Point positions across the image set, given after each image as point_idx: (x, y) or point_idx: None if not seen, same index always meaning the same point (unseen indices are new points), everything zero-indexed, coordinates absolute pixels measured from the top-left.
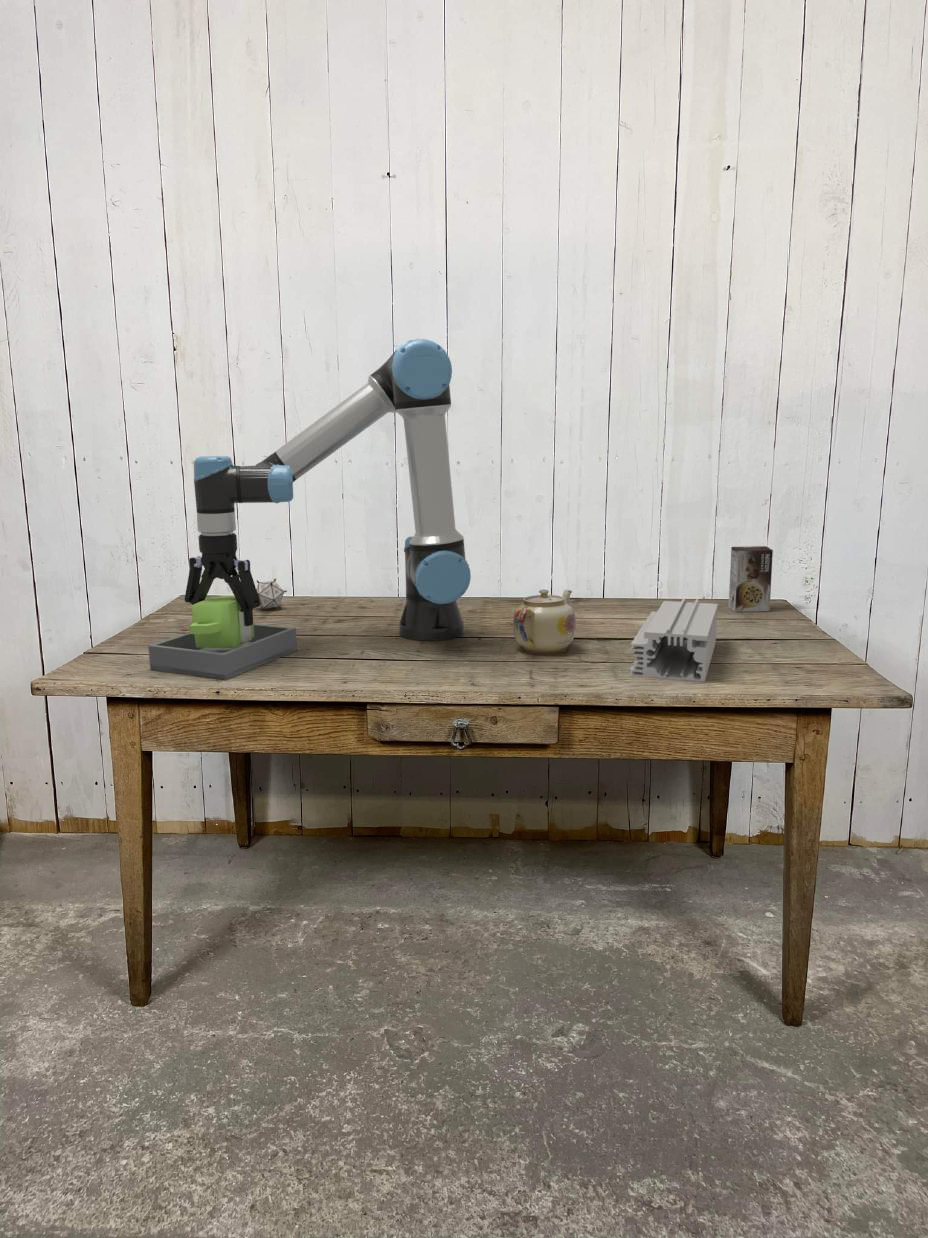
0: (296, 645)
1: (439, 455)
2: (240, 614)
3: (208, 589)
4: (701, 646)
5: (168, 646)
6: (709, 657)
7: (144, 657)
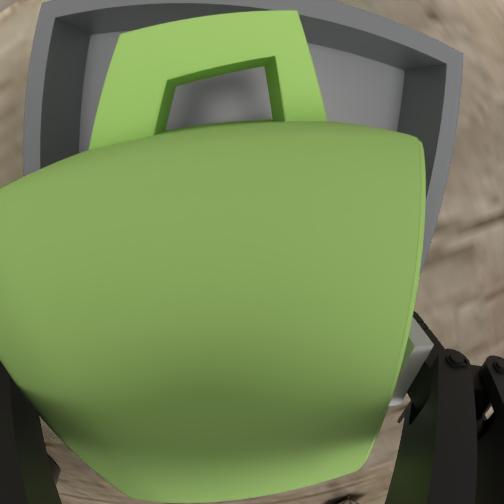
0: None
1: None
2: None
3: (391, 494)
4: None
5: (425, 132)
6: None
7: (482, 193)
